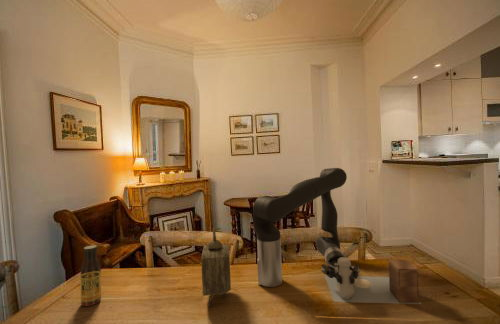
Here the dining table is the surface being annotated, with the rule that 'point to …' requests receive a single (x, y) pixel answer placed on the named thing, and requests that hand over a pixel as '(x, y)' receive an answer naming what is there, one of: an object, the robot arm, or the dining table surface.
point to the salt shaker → (345, 279)
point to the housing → (403, 281)
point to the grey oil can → (215, 269)
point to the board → (366, 290)
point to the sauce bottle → (90, 277)
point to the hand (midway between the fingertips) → (346, 281)
